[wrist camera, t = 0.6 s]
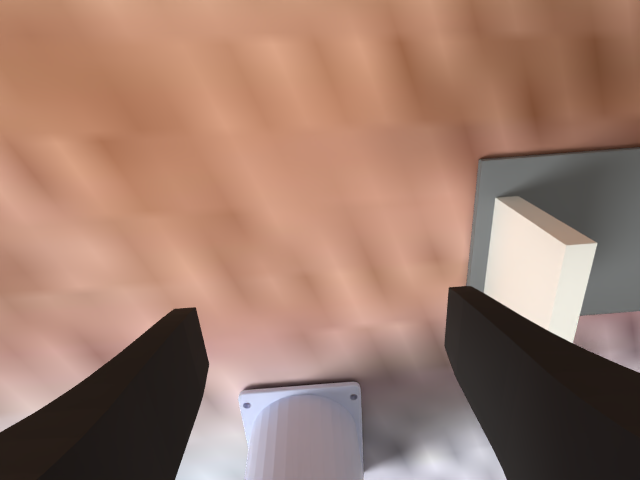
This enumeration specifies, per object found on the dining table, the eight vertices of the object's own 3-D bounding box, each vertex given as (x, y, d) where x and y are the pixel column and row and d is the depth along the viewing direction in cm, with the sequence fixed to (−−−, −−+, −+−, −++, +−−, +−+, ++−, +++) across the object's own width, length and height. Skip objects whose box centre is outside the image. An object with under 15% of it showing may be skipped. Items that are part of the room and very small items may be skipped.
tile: (506, 293, 23) (570, 365, 17) (483, 295, 23) (540, 367, 17) (521, 195, 20) (601, 242, 15) (495, 197, 20) (566, 245, 15)
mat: (671, 304, 24) (677, 308, 23) (462, 320, 24) (465, 324, 23) (730, 140, 20) (738, 141, 19) (478, 159, 20) (482, 161, 19)
